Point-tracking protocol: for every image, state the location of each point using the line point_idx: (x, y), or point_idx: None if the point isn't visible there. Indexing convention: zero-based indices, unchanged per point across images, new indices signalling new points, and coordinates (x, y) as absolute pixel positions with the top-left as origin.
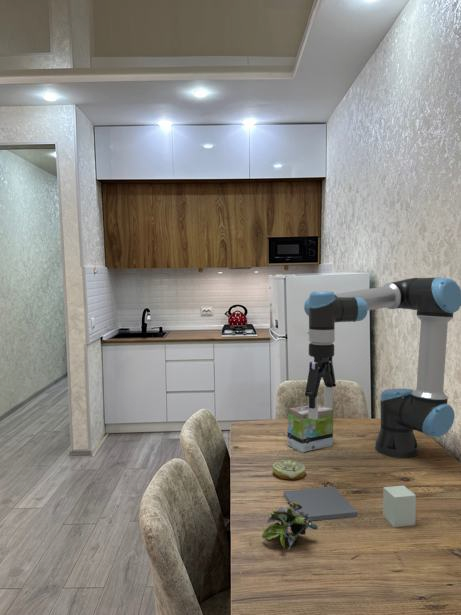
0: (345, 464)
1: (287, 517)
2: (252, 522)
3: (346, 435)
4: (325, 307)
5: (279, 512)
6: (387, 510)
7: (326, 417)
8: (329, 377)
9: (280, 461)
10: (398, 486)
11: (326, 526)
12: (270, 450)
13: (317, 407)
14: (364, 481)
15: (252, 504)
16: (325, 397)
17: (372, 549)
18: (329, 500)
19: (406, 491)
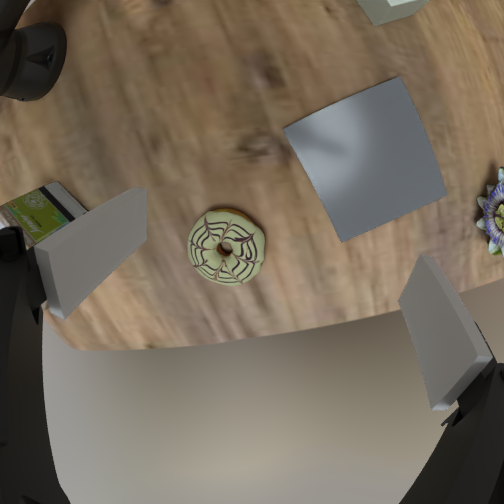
0: (126, 129)
1: None
2: (448, 273)
3: (15, 168)
4: None
5: None
6: (395, 15)
7: (20, 215)
8: (9, 366)
9: (216, 274)
10: None
11: (449, 143)
12: (131, 293)
13: (457, 299)
14: (205, 67)
15: (390, 287)
16: (110, 260)
17: (490, 72)
18: (364, 135)
19: None
